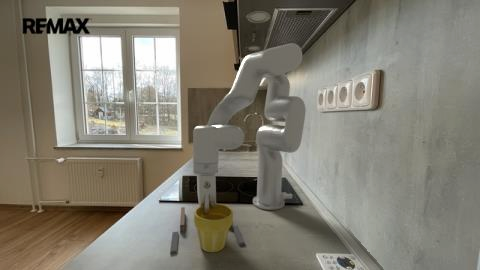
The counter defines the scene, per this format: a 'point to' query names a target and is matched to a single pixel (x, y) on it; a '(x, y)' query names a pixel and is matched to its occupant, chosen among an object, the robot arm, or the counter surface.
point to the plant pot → (213, 226)
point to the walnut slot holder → (183, 219)
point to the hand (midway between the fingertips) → (205, 224)
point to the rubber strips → (175, 239)
